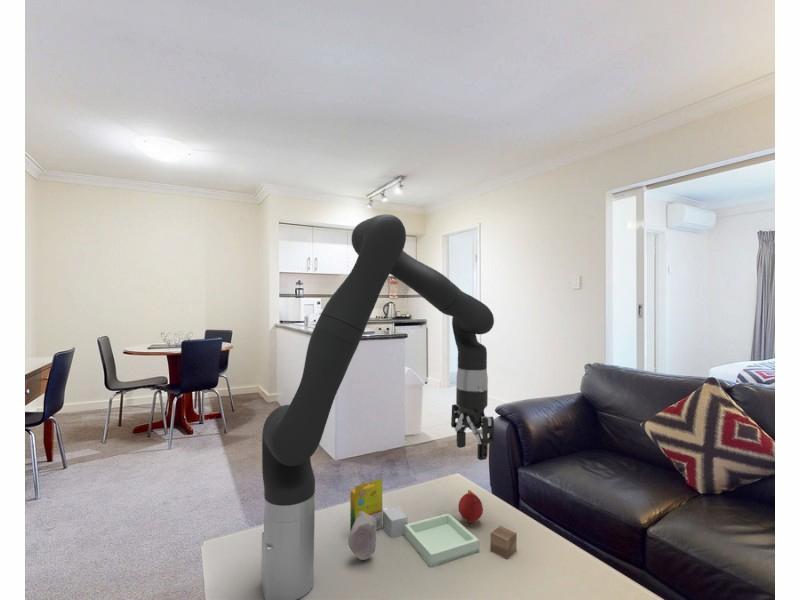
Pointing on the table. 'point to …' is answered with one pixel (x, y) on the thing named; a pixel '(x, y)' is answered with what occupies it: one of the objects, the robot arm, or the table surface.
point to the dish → (441, 539)
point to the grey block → (394, 521)
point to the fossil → (363, 536)
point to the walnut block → (503, 542)
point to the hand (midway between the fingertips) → (471, 452)
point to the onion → (470, 507)
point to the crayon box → (367, 502)
